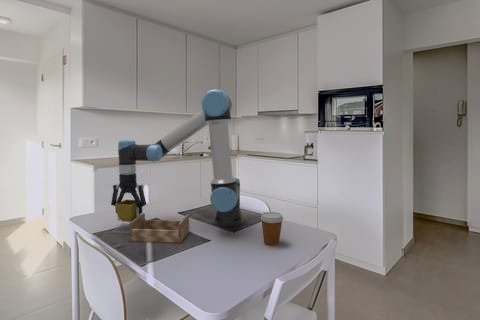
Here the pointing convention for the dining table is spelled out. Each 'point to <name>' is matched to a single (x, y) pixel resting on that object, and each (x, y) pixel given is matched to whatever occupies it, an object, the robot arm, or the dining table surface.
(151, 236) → the crate
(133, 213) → the flower pot
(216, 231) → the dining table surface
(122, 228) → the mat
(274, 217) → the disposable coffee cup
